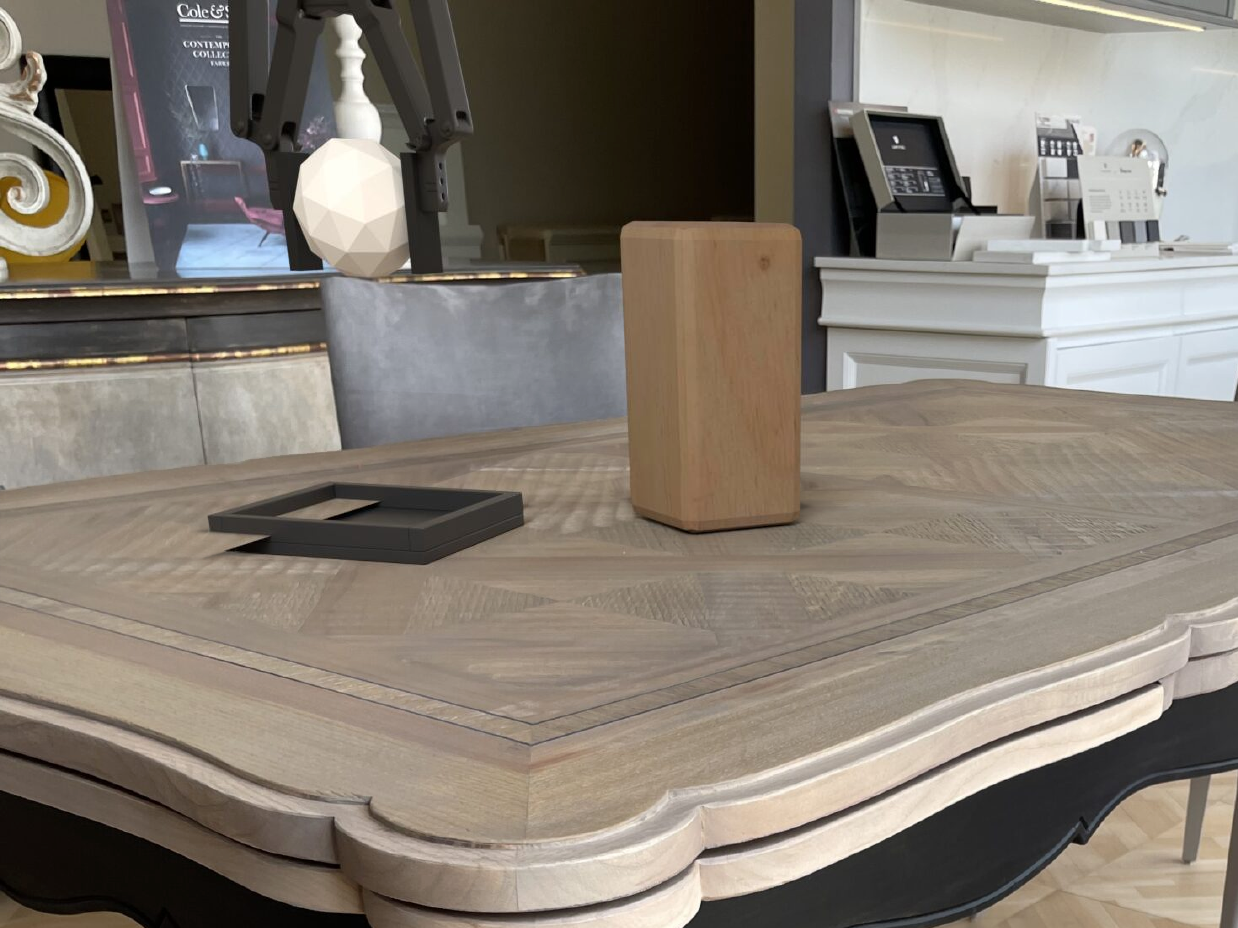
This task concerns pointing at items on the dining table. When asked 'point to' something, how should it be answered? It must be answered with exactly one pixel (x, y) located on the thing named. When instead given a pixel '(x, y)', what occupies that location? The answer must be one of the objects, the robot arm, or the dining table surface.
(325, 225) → the geometric ball
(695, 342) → the wooden block
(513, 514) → the tray
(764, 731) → the dining table surface
